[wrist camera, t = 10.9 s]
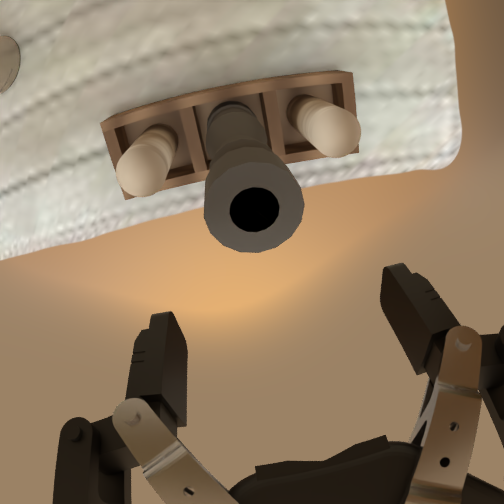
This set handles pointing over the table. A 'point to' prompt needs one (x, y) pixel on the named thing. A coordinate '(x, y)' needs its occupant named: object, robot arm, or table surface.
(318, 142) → the wooden candle tray
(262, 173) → the candle holder
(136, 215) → the table surface
